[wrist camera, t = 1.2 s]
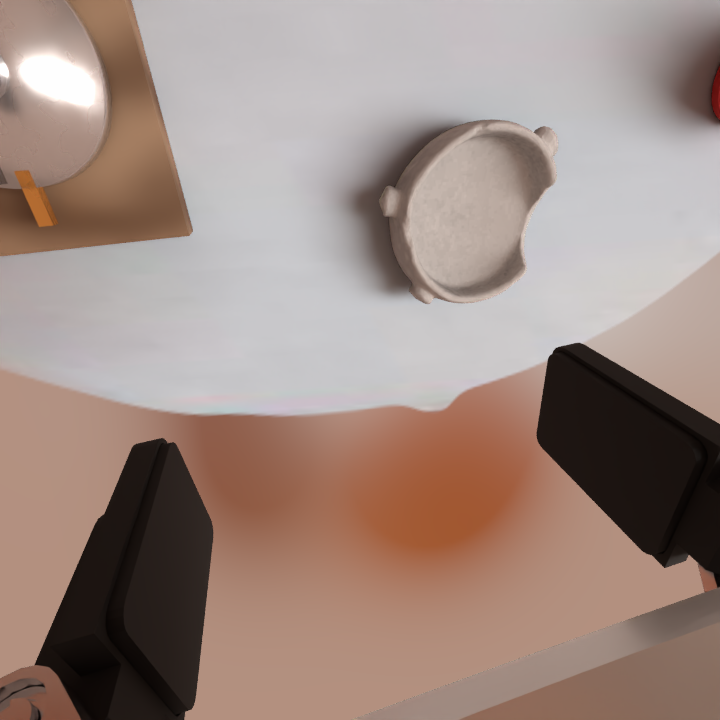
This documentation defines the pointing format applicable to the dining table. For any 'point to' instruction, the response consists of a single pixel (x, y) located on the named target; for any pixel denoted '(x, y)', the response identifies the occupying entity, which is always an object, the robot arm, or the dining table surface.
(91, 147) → the door handle
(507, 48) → the dining table surface
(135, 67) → the dial stand
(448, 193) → the dish
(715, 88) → the canned food
